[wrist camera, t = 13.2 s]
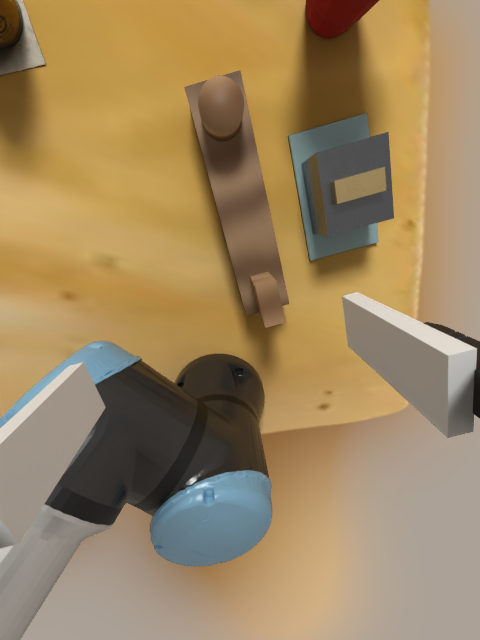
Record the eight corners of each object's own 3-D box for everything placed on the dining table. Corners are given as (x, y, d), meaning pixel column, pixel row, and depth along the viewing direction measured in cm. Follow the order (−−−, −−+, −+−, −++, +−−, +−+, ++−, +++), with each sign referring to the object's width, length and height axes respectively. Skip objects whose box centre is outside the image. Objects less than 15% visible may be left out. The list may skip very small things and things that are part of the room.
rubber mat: (376, 242, 40) (378, 242, 40) (309, 260, 40) (310, 260, 40) (365, 114, 35) (367, 112, 34) (288, 136, 35) (288, 135, 35)
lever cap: (368, 218, 38) (398, 217, 32) (312, 234, 39) (331, 236, 32) (362, 146, 35) (393, 129, 29) (301, 163, 36) (318, 150, 29)
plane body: (281, 294, 42) (301, 318, 32) (243, 305, 42) (250, 332, 32) (237, 92, 33) (244, 32, 23) (190, 106, 33) (174, 53, 23)
